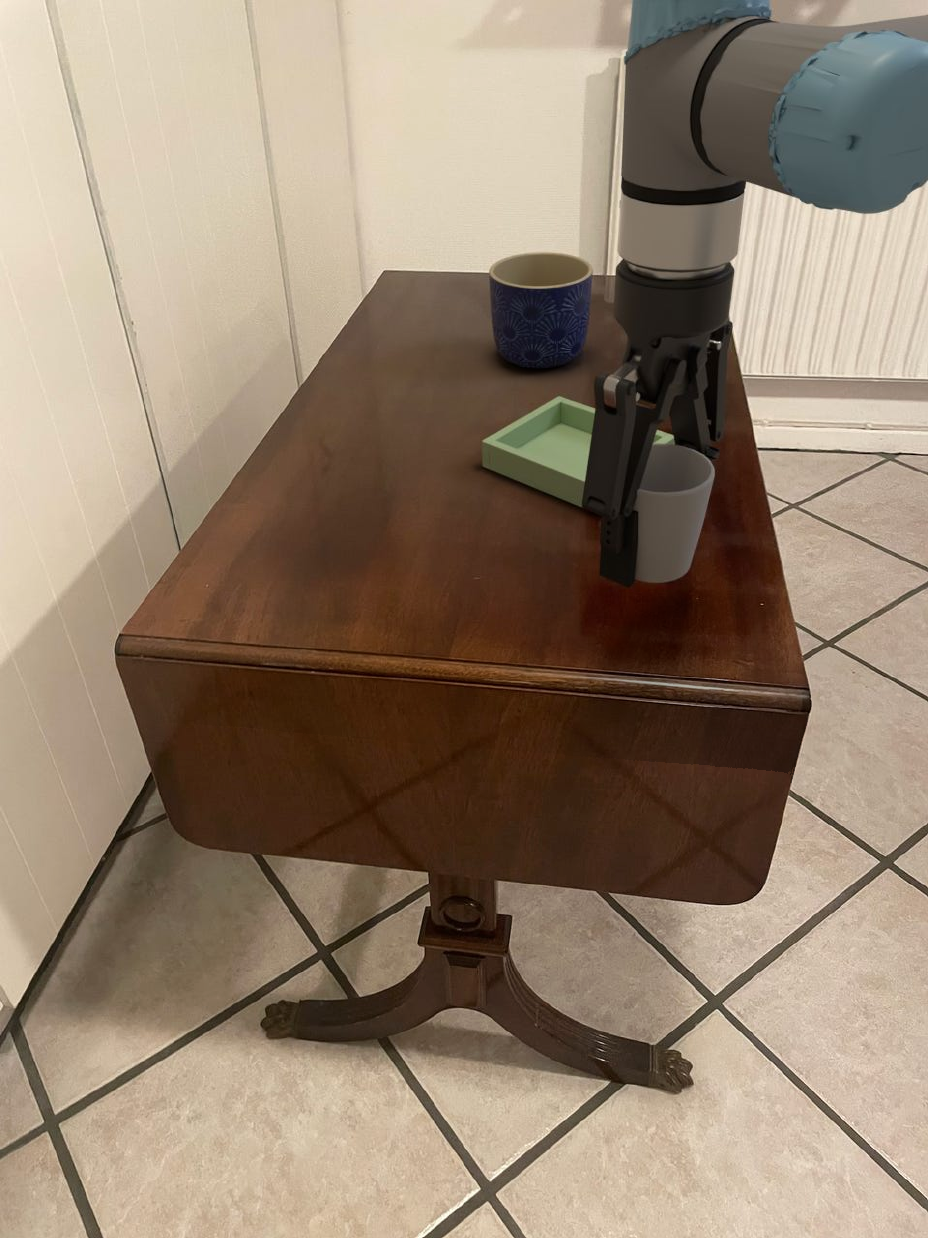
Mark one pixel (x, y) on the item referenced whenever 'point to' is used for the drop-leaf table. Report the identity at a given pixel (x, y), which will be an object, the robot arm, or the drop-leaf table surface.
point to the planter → (540, 307)
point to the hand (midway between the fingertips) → (648, 553)
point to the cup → (671, 511)
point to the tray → (548, 448)
